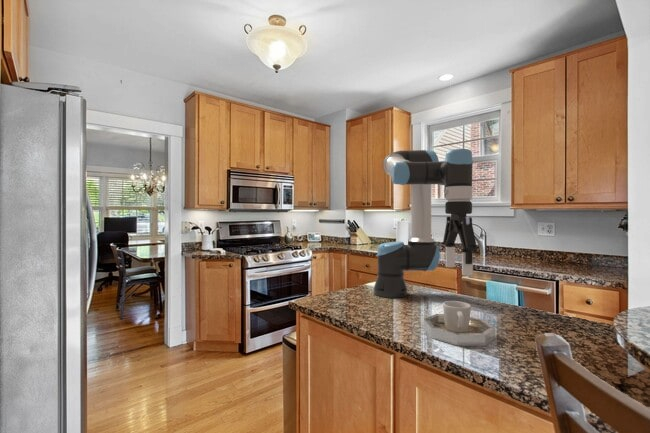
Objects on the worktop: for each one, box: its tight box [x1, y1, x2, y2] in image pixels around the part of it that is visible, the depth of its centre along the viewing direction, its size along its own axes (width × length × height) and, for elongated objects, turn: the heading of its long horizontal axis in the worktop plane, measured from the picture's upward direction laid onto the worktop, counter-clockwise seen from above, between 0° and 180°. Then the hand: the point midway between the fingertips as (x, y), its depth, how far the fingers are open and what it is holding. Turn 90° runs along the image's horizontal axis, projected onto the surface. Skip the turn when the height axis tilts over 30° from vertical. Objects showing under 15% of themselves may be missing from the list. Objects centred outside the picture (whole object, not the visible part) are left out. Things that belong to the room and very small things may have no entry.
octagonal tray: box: [423, 313, 496, 347], centre depth 97 cm, size 18×18×3 cm
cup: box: [442, 300, 472, 333], centre depth 98 cm, size 11×8×8 cm
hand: (458, 270), depth 98 cm, fingers open, 13 cm apart
